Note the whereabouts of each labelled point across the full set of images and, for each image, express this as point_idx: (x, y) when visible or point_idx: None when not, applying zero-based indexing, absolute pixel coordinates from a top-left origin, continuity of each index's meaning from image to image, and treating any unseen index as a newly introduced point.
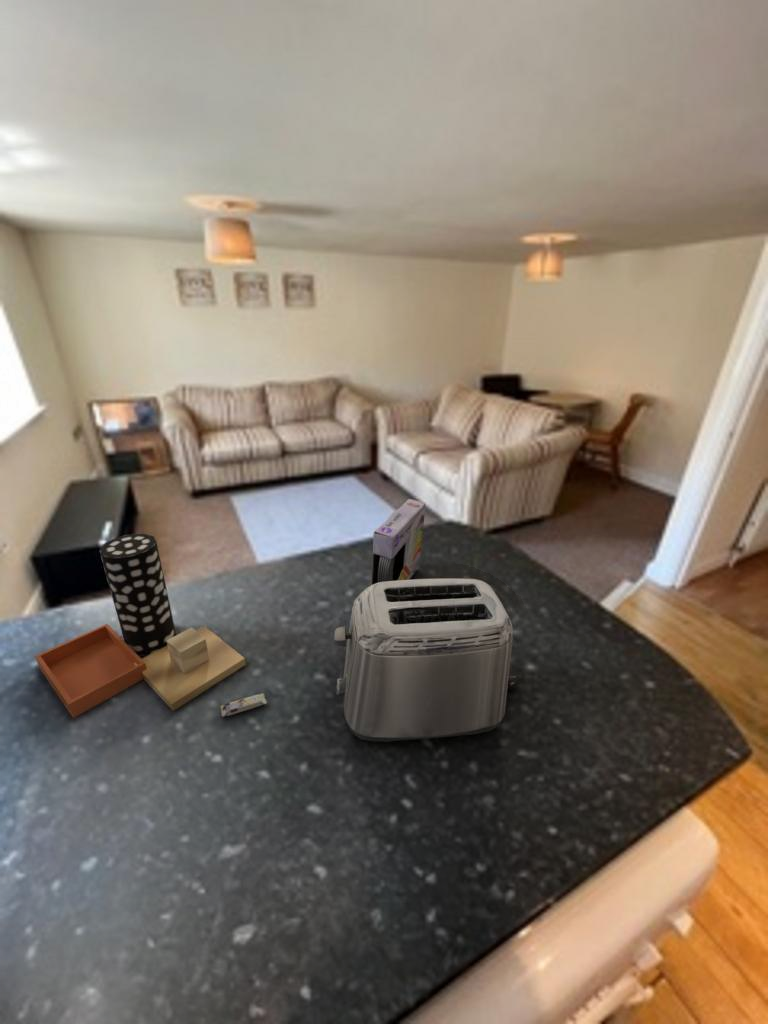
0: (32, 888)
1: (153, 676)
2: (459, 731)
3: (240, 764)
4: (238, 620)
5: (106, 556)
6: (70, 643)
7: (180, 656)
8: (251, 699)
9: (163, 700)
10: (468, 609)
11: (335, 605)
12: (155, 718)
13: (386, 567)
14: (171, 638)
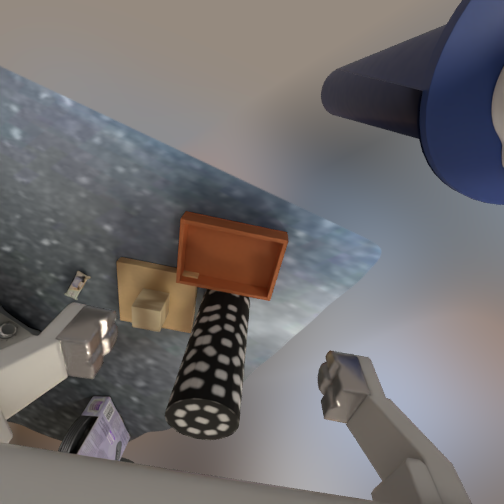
0: (23, 95)
1: (163, 274)
2: None
3: (27, 246)
4: (182, 346)
5: (194, 398)
6: (275, 267)
7: (134, 302)
8: (73, 292)
9: (139, 260)
10: None
11: (130, 385)
12: (125, 245)
13: (64, 442)
14: (159, 315)
